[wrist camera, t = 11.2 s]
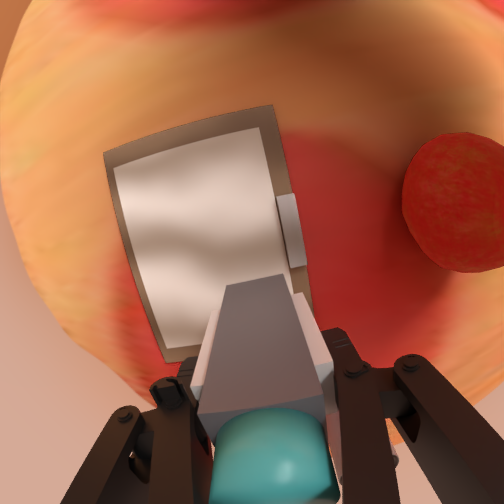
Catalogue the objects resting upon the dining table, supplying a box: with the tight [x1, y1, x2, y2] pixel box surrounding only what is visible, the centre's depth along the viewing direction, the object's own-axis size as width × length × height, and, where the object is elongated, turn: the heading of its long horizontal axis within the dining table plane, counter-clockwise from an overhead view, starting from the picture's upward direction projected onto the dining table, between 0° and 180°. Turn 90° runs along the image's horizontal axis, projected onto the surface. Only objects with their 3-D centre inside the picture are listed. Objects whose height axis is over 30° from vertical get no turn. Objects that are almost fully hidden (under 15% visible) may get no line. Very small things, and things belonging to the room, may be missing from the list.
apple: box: [402, 132, 504, 273], centre depth 15 cm, size 10×10×10 cm
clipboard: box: [103, 105, 315, 363], centre depth 20 cm, size 18×13×1 cm
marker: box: [197, 273, 340, 504], centre depth 12 cm, size 4×4×14 cm
